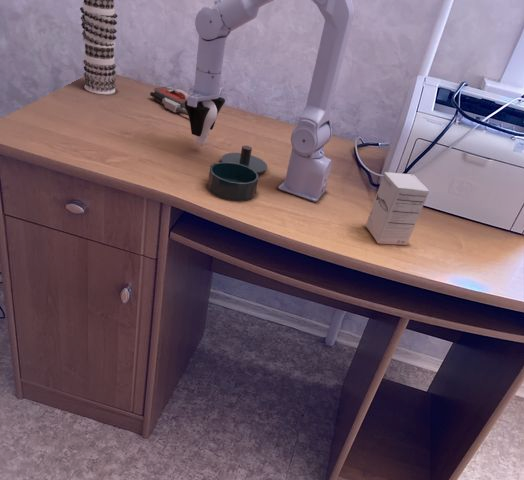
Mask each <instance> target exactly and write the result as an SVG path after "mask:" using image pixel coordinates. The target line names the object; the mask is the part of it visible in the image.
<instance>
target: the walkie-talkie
mask: <svg viewBox="0 0 524 480" xmlns="http://www.w3.org/2000/svg"><path fill="white" fill-rule="evenodd" d="M153 91H154V92H153ZM153 91H150V92H149V96H150V97H153V100H154V101H155V102H157V103H158V104H159V103H160V104H161V105H163V106H164V108H165V109H167V110H169V111H170V112H173V113H180V114H184V115H186V116H188V117H189V115H188V112H187V110H186V108H185V101H187V100H188V96H189V95H190V93H189V92H187V91H185V90H183V89H181V88H177V89H173V86H162V87H156V88H154V90H153Z"/></svg>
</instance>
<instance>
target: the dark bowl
mask: <svg viewBox="0 0 524 480" xmlns="http://www.w3.org/2000/svg"><path fill="white" fill-rule="evenodd" d="M208 173H209V174H208V179H207V180H208V181H207V188H208V191H209V192H210V193H212V194H213V195H215V196H216V197H218V198H221V199H224V200H227V201H233V202H245V201H250V200H252V199H254V198H255V196H256V194H257V189H258V183H259V174H257V173H256V172H255V171H254V170H253V169H251V168H249V167H247V166H244V165H241V164H237V163H232V162H221V161H220V162H215V163H213V164H212V165H210V166H209V172H208Z"/></svg>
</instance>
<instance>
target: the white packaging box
mask: <svg viewBox="0 0 524 480" xmlns="http://www.w3.org/2000/svg"><path fill="white" fill-rule="evenodd" d="M429 193H430V189H429V188H428V187H426V186H425V184H424V183H422V181H421V180H420V179H419V178H417V176H416V175H415V174H411V173H401V172H390V171H385V172H384V173H383V175H382V178H381V181H380V183H379V186H378V189H377V192H376V195H375V197H374V201H373V203H372V205H371V209H370V211H369V215H368V218H367V220H366V224H365V228H367V230H368V231H369V233H370V234H371V235H372V237H373V238H374V240H375V241H376V243H377V244H382V245H397V246H398V245H399V246H407V245H408V244H409V240H410V238H411V236H412V233H413V230H414V229H415V226H416V224H417V221H418V219H419V217H420V215H421V212H422V210H423V207H424V205H425V203H426V200H427V199H428V195H429Z"/></svg>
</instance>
